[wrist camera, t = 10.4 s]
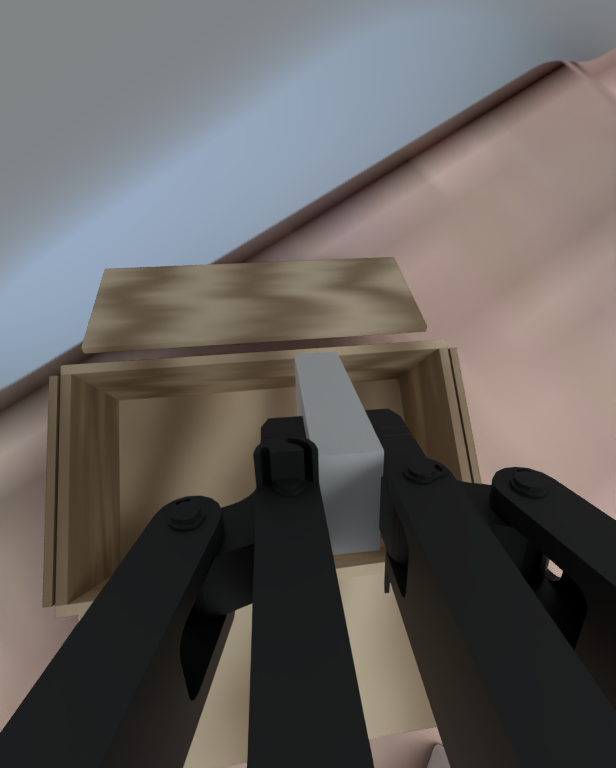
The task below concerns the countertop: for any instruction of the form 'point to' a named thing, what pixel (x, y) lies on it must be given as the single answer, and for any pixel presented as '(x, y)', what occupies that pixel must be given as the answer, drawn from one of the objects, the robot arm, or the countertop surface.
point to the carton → (234, 496)
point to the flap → (249, 304)
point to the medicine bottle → (438, 758)
